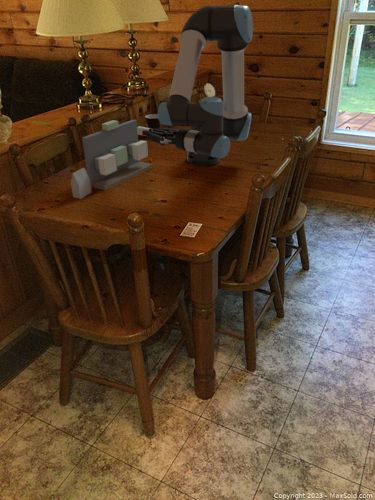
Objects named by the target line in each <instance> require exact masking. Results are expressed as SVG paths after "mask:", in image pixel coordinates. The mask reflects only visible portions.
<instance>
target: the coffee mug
mask: <svg viewBox="0 0 375 500" xmlns="http://www.w3.org/2000/svg"><path fill="white" fill-rule="evenodd" d="M144 117H145V123H146V128H151V129H158V128H159V127H160V128H162V124H161V123H160V122H159V119H158V113H157V114H156V113H154V114H147V115H145V116H144Z"/></svg>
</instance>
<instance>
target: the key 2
mask: <svg viewBox="0 0 375 500" xmlns="http://www.w3.org/2000/svg"><path fill="white" fill-rule="evenodd" d="M148 148H149V147H148V141H147V140H138V142H136V143H135V142H131V143H129V144H127V151H128V154H129V155H133V159H134V160H140V161H141V160H142V159H145V158H147V157H149V151H148Z"/></svg>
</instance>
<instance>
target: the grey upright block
mask: <svg viewBox="0 0 375 500" xmlns="http://www.w3.org/2000/svg"><path fill="white" fill-rule="evenodd" d="M71 175H72V176H71V181H70V187H71V192H72V198H75V199H80V200H81V199H83V198H85V197H86V196H88V195H90V194H91V193H92V187H91V185H90V178H89V176H88V174H87V170H86V168H85V167H82V168H80V169H78V170H76V171H74V172H73V173H72V174H71Z"/></svg>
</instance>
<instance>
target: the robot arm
mask: <svg viewBox="0 0 375 500" xmlns="http://www.w3.org/2000/svg"><path fill="white" fill-rule="evenodd" d="M253 29H254V21H253V14H252V11H251V9H250V7H249V6H248V5H239V4H234V5H233V4H230V5H229V4H228V5H227V4H226V5H209V4H208V5H205V6H203V7H202V6H201V7H199V8H198V9H197V10H196V11H194V12H193V13H192V14H191V15H190V16H189V17H188V18H187V20H186V22H185V23H184V25H183V26H182V29H181V33H180V36H179V42H180V47H179V48H180V49H179V52H178V56H177V61H176V65H175V69H174V73H173V77H172V82H171V87H170V91H169V94H168V98H167V99H168V100H167V101H164V102H161V103H160V104H159V105H158V107H157V114H158V119H159V122H160V123H161V125H164V126H169V127H190V129H188V128H168V127H161V128H160V127H159V128H158V129H151V128H147V126H146V127H145V126H140V125H139V126H137V134H138V136H139V135H140V136H145V137H147V140H149V141H151V142H154V143H156V144H159V145H160V146H165V144H169V145H174V146H175V147H176V148H177V149H178V150H179V151H186V152H187V154H186V155H187V156H186V161H187V163H189V164H191V165H194V166H204V167H205V166H206V167H207V166H212V165H216V164H218V163H219V162H221V159H223V158H226V157H227V156H228V154H229V152H230V149H231V141H236V142H237V141H246V140H247V138H248V137H249V132H250V127H251V122H252V117H253V116H252V113H251V112H249V109H248V107H247V106H246V105H245V51H246V49H247V48H248V46H249V43H251V42H252V40H253V37H254V36H253V35H254V30H253ZM209 42H212V43H213V42H216V46H217V47H216V48H217V49H218V50H219V51H220V52H221V72H222V73H221V75H222V97H223V100H222V99H221V98H220V97H216V96H213V97H207V96H205V97H203V98H201V99H200V100H201V103H200V102H199V103H193V102H191V97H192V94H193V89H194V84H195V79H196V77H197V72H198V66H199V63H200V58H201V55H202V54H201V53H202V50H203V49H204V48H205V47H206V44H207V43H209Z"/></svg>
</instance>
